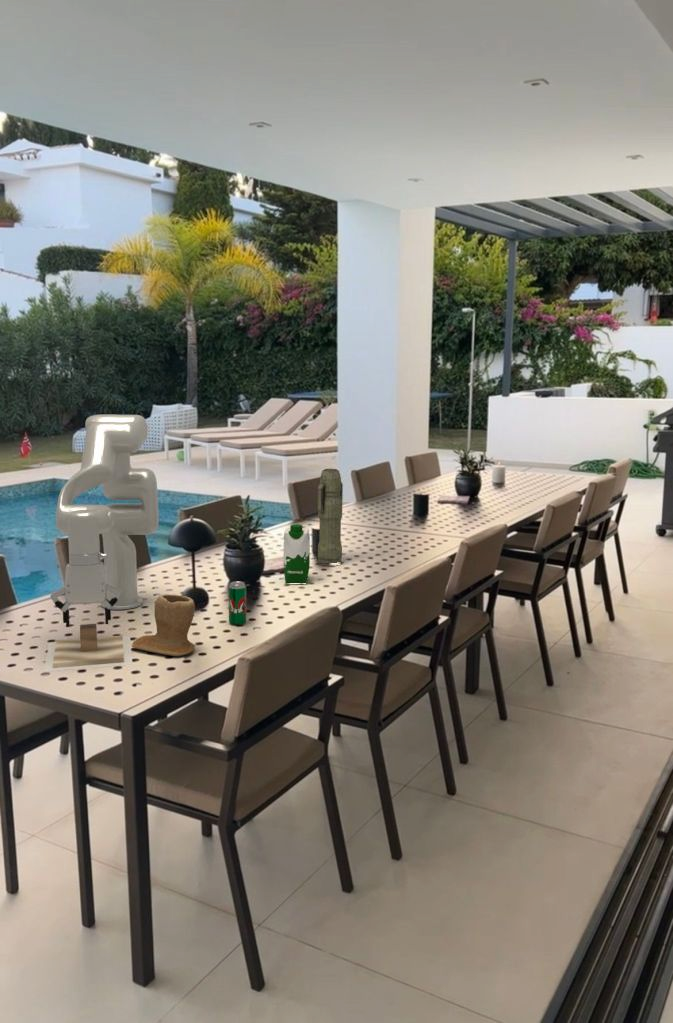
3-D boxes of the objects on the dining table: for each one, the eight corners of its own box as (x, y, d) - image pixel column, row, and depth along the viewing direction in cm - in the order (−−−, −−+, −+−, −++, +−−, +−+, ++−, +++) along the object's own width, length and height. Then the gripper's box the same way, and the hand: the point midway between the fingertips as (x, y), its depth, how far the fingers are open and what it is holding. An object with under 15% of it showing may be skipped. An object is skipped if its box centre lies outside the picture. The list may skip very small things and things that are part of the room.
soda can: (246, 620, 250) (246, 580, 248) (245, 626, 246) (245, 585, 243) (229, 620, 250) (229, 580, 248) (228, 626, 245) (227, 585, 243)
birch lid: (56, 644, 227) (55, 618, 226) (122, 639, 231) (121, 614, 230) (53, 668, 211) (51, 640, 210) (124, 662, 215) (122, 634, 214)
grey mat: (49, 644, 229) (49, 642, 229) (130, 638, 234) (129, 636, 234) (44, 674, 209) (43, 671, 209) (132, 666, 214) (132, 664, 214)
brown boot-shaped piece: (205, 648, 228) (204, 593, 225) (179, 662, 217) (177, 606, 214) (158, 639, 234) (156, 586, 231) (130, 653, 223) (128, 598, 220)
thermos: (310, 564, 313) (310, 470, 307) (329, 558, 323) (329, 466, 316) (330, 568, 308) (331, 472, 302) (348, 562, 318) (349, 468, 311)
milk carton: (282, 585, 287) (282, 526, 283) (284, 577, 296) (284, 521, 292) (308, 585, 287) (309, 527, 283) (310, 578, 296) (310, 521, 292)
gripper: (119, 554, 222) (122, 617, 225) (49, 557, 218) (52, 622, 221) (120, 560, 215) (122, 626, 218) (47, 564, 210) (51, 631, 213)
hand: (87, 624), depth 219 cm, fingers open, 9 cm apart
